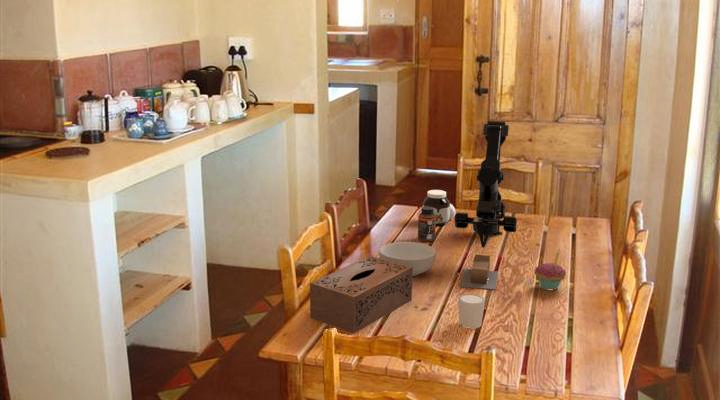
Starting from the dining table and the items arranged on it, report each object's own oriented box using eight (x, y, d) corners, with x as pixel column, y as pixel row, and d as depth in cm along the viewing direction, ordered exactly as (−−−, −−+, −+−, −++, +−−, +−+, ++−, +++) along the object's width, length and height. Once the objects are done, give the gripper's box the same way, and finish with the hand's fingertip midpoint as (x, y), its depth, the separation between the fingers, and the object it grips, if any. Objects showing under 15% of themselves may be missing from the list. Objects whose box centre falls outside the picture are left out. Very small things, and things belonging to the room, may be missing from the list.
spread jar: (420, 225, 268) (421, 194, 265) (423, 216, 279) (424, 186, 276) (454, 227, 267) (455, 196, 263) (455, 218, 277) (457, 187, 274)
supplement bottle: (434, 243, 250) (435, 210, 247) (416, 241, 251) (417, 209, 248) (436, 237, 256) (437, 205, 252) (418, 236, 257) (419, 204, 254)
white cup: (454, 318, 193) (455, 293, 191) (480, 317, 194) (481, 293, 192) (459, 330, 186) (461, 304, 184) (486, 329, 187) (488, 304, 185)
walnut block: (475, 254, 225) (471, 268, 214) (490, 255, 224) (487, 269, 213) (474, 268, 227) (470, 283, 215) (489, 269, 226) (486, 284, 214)
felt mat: (464, 269, 227) (464, 268, 226) (498, 272, 224) (498, 271, 224) (460, 286, 213) (460, 285, 213) (495, 290, 211) (495, 289, 211)
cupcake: (565, 284, 216) (568, 245, 213) (562, 295, 208) (566, 255, 205) (535, 280, 219) (538, 241, 215) (531, 291, 211) (534, 251, 208)
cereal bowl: (442, 267, 228) (443, 245, 226) (423, 286, 214) (424, 263, 212) (391, 258, 235) (391, 237, 233) (369, 276, 221) (370, 254, 219)
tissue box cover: (369, 288, 213) (370, 255, 210) (411, 301, 204) (412, 267, 201) (310, 318, 193) (309, 283, 190) (354, 334, 184) (354, 297, 182)
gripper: (456, 187, 227) (450, 232, 220) (518, 191, 223) (515, 237, 216) (458, 204, 237) (452, 248, 230) (517, 208, 233) (514, 254, 225)
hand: (483, 247), depth 225 cm, fingers closed
